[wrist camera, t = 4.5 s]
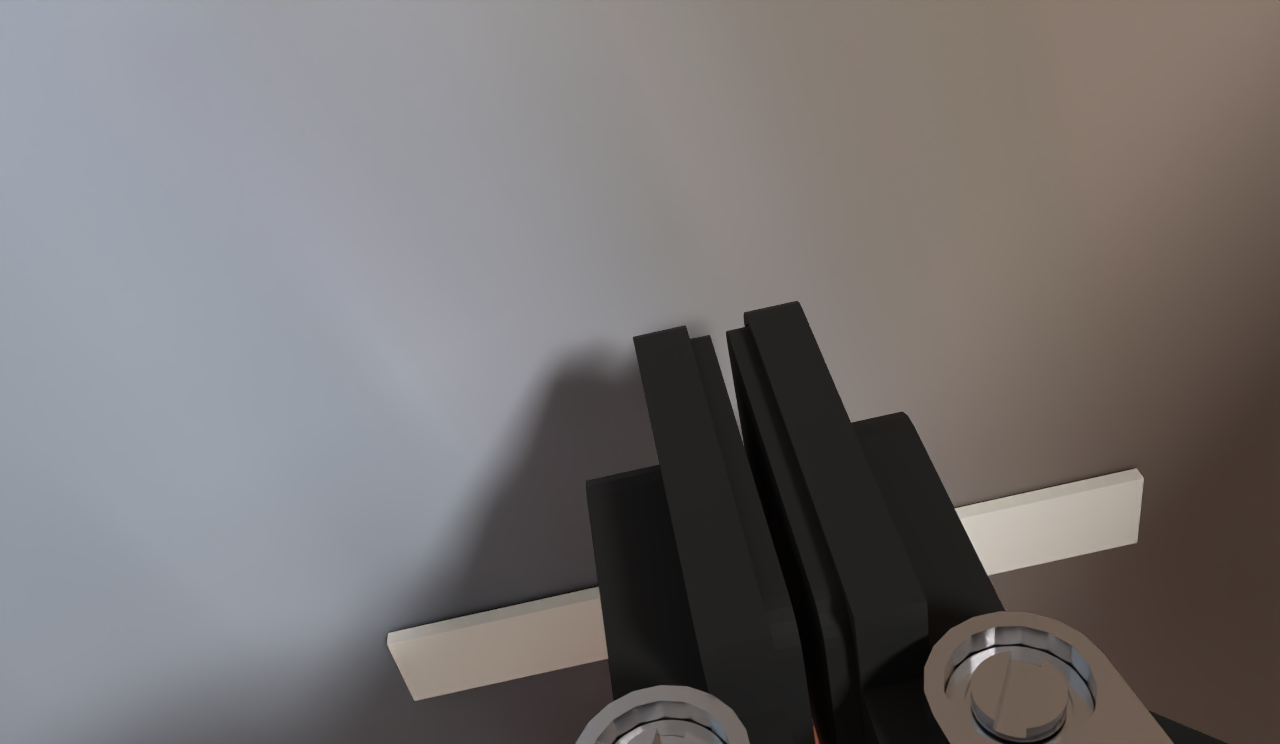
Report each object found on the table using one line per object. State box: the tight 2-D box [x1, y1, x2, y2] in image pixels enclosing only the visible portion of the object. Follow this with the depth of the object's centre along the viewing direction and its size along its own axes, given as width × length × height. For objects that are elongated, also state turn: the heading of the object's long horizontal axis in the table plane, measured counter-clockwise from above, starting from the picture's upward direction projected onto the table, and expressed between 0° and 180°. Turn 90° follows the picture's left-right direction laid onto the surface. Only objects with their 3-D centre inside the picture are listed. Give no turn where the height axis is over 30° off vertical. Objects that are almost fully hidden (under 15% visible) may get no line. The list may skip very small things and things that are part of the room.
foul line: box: [387, 468, 1144, 701], centre depth 16 cm, size 10×1×1 cm, turn 100°
